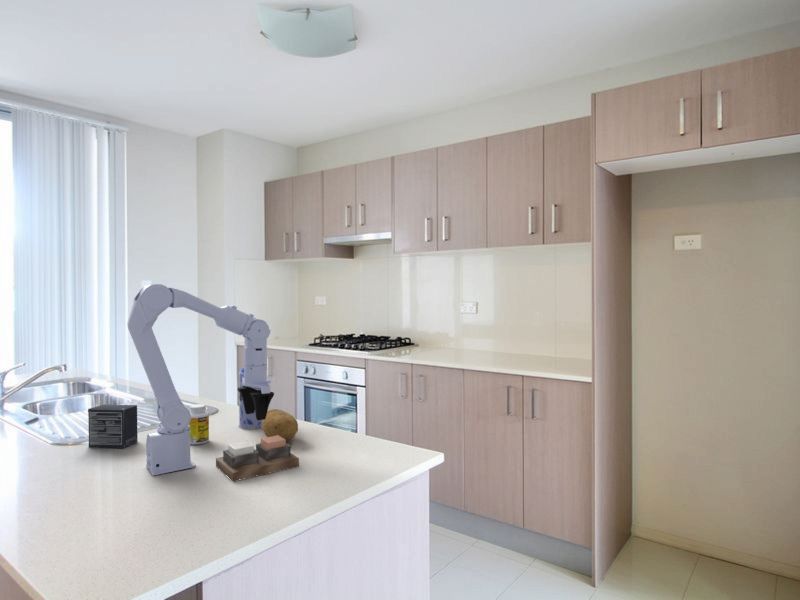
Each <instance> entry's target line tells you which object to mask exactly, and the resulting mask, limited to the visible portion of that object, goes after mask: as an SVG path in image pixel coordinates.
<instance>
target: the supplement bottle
mask: <svg viewBox="0 0 800 600" xmlns="http://www.w3.org/2000/svg"><path fill="white" fill-rule="evenodd" d="M189 408H190V409H189V411H190V413H191V421H190V423H189V425H190V445H203V444H206V443H208V442H209V439H210V426H209V425H210V422H209V421H210V420H209V419H210V413H209V412H208V411H207V407H206V404H205V403H204V404H202V403H201V404H200V403H198V404H192V405H191V406H190V407H189Z"/></svg>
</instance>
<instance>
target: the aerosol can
mask: <svg viewBox="0 0 800 600" xmlns="http://www.w3.org/2000/svg"><path fill="white" fill-rule="evenodd" d="M242 378H244V367H243V368H242V369H241V370H240V371H239V373H238V388H239V387H243V386H244V385H242ZM238 401H239V402H238V407H239V409H238V411H239V412H238V413H239V414H238V415H239V417H238V418H239V420H238V421H239V424H238V428H239V429H241V430H257V429H261V428H262V420H257V419H256V414H255V412H254V413H252V414H246V413H245V409H244V404H243V400H242V397H241V395H240V393H239V392H238Z"/></svg>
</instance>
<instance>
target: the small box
mask: <svg viewBox="0 0 800 600" xmlns="http://www.w3.org/2000/svg"><path fill="white" fill-rule="evenodd" d="M87 412H88V413H87V414H88V448H101V449H102V448H105V449H125V448H128V447H129V446H131V445H133V444H135V443H137V442H138V405H137V404H136V405H135V404H100V405H97V406H93V407H90V408H88V409H87Z"/></svg>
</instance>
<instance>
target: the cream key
mask: <svg viewBox="0 0 800 600" xmlns="http://www.w3.org/2000/svg"><path fill="white" fill-rule="evenodd" d="M227 448H228V449H227V450H228V452H229V453H230V454H231V455H233V456H234V457H235V456H239V455H244V454H249V453H254V449H255V446H254V445H253V444H252V443H251V442H249V441H248V440H247V441H239V442H236V443H235V442H234V443H231V444H228V445H227Z"/></svg>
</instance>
